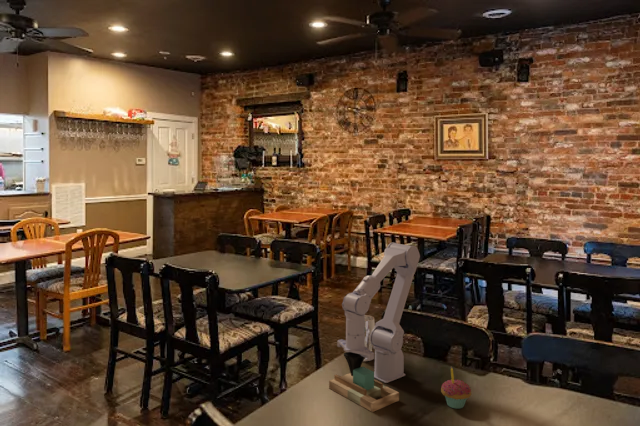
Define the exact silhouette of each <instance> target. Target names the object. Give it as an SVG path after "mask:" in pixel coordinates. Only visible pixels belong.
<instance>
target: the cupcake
mask: <svg viewBox="0 0 640 426" xmlns="http://www.w3.org/2000/svg"><path fill="white" fill-rule="evenodd" d="M450 376H451V379H447V380H446V381H444V382H443V383H442V384H441V387H440V392H441V394H442V395H443V396H444V398H445V401H446V404H447V406H448V407H450V408H452V409H456V410H458V409H463V408H464V406H465V405H466V401H467V400H468V399H469V398H470V397H471V395H472V389H471V387H470V385H469V384H467V382H465V381H463V380H462V379H456V378H455V375H454V369H453V367H452V366H450Z"/></svg>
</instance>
